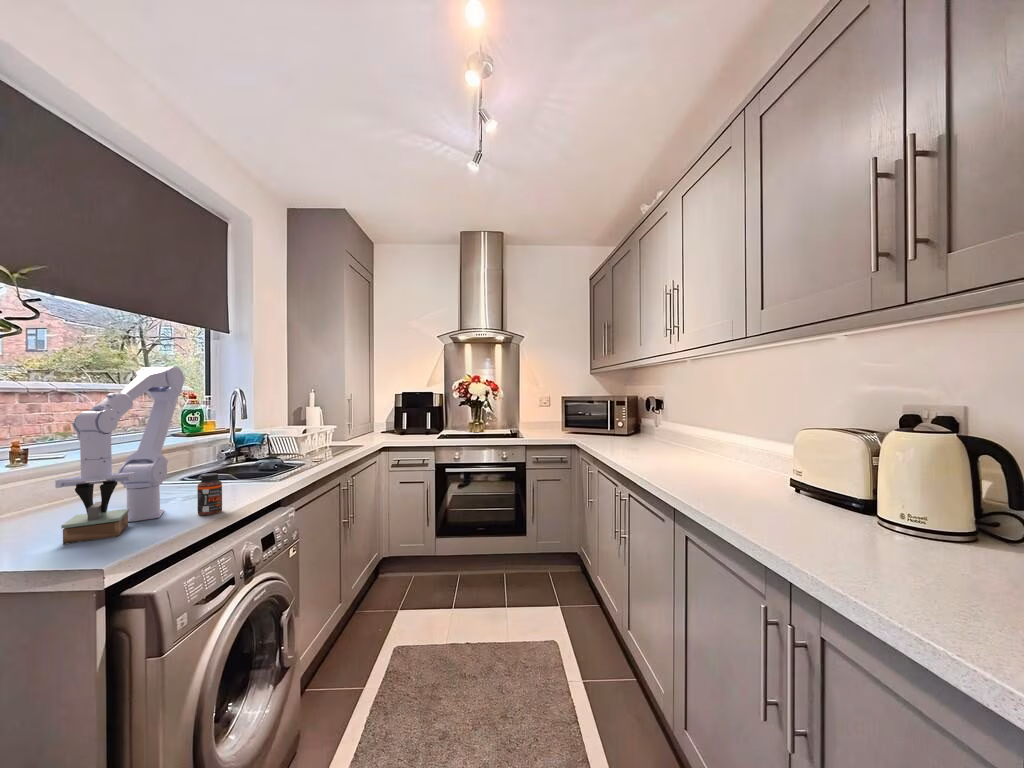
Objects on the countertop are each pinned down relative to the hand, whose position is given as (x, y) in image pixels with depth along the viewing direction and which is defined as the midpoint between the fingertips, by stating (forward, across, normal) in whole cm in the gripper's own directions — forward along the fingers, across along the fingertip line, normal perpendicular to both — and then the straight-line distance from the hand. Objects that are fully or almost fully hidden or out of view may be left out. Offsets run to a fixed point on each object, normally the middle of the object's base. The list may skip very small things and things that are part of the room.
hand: (97, 512), depth 112 cm
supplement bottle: (+6, +23, +7) cm, 25 cm away
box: (+6, 0, 0) cm, 6 cm away
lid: (+3, 0, 0) cm, 3 cm away
